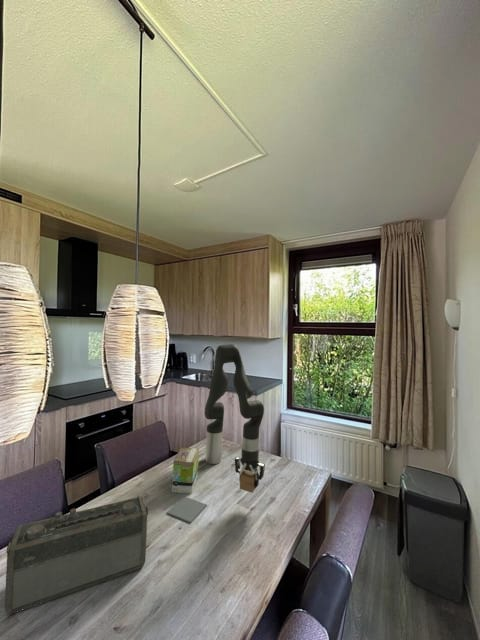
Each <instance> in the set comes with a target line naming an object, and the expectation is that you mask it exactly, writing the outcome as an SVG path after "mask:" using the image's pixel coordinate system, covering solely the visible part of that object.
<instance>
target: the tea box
mask: <svg viewBox="0 0 480 640" xmlns="http://www.w3.org/2000/svg"><path fill="white" fill-rule="evenodd" d="M199 454H200V449H199V448H197V447H196V448H195V447H194V448H192V447H180V448H179V451H178V452H177V454H176V456H175V458H174V459H173V465H172V480H171V481H172V484H171V493H176V494H177V493H179V494H192V493H193V490H194V488H195V485H196V482H197V479H198V476H199V474H198V473H199V457H200V455H199Z"/></svg>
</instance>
